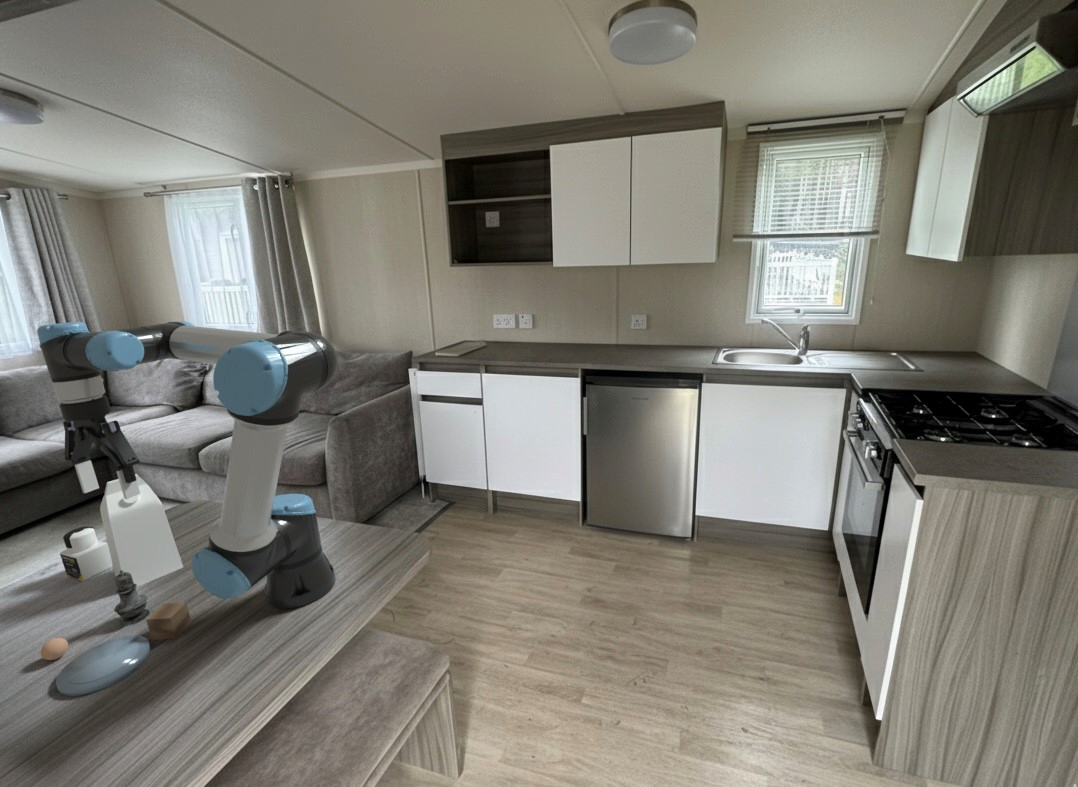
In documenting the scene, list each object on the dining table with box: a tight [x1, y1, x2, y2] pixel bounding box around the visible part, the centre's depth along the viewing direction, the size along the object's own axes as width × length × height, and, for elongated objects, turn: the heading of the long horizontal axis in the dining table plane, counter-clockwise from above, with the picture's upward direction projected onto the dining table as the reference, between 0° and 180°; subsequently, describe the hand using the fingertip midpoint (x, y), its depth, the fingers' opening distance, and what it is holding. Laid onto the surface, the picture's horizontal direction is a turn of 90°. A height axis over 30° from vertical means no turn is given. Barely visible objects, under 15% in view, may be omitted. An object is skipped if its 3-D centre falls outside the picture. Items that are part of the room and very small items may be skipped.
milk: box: [99, 473, 184, 588], centre depth 128 cm, size 12×12×26 cm
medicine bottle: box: [59, 526, 113, 582], centre depth 131 cm, size 7×7×12 cm
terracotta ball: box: [40, 637, 69, 661], centre depth 101 cm, size 4×4×4 cm
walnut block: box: [145, 602, 192, 641], centre depth 107 cm, size 5×5×5 cm
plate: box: [55, 634, 151, 697], centre depth 99 cm, size 14×14×1 cm
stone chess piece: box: [113, 570, 151, 626], centre depth 111 cm, size 6×6×12 cm
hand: (111, 493), depth 109 cm, fingers open, 13 cm apart
